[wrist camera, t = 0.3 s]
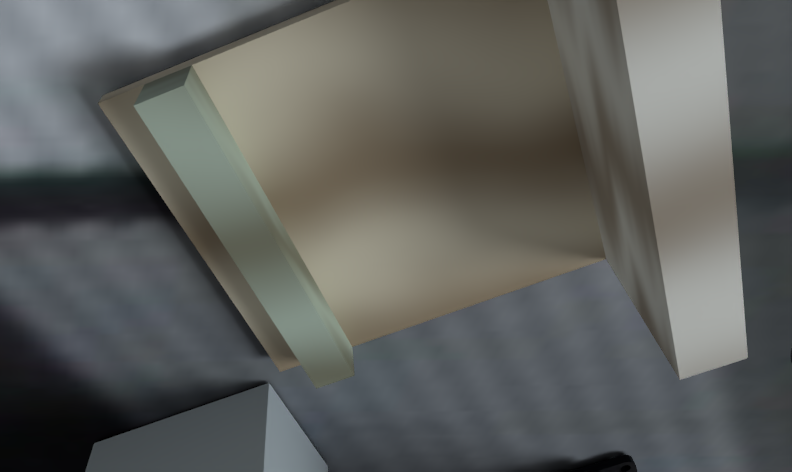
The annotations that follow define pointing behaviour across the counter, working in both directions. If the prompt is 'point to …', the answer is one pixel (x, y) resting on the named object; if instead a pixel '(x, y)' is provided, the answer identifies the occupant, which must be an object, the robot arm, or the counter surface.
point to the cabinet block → (215, 440)
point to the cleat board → (452, 167)
